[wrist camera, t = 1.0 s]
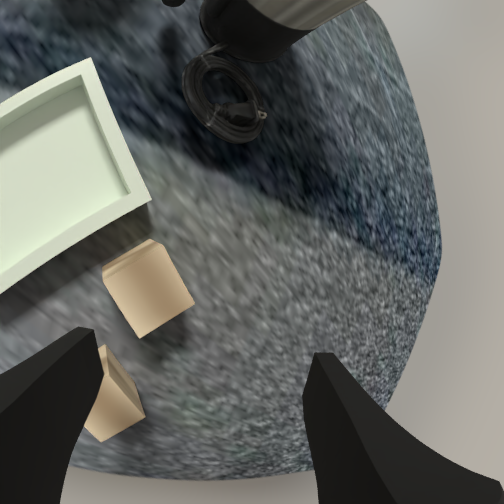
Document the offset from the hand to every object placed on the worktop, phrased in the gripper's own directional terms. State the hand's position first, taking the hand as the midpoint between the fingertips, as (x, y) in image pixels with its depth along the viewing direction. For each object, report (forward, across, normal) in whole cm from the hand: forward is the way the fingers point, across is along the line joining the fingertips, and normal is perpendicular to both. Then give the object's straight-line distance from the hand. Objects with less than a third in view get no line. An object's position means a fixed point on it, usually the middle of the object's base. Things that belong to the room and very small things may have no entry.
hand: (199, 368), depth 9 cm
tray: (+10, +14, -4) cm, 18 cm away
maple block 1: (+8, +9, +10) cm, 16 cm away
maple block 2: (+12, +6, +3) cm, 14 cm away
